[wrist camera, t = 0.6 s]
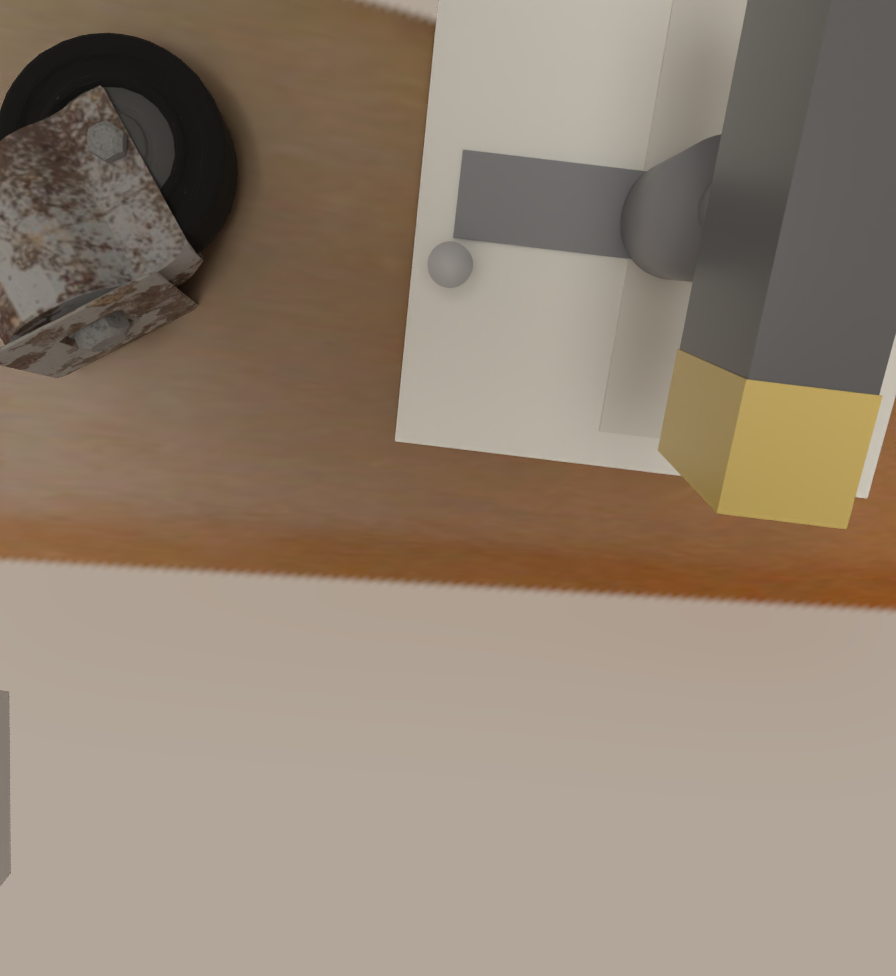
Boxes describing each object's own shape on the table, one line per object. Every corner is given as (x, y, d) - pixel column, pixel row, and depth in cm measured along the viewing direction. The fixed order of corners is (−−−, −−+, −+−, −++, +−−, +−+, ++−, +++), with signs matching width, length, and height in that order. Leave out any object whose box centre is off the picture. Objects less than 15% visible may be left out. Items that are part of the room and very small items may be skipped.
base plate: (450, -93, 29) (440, -219, 22) (990, -30, 29) (1172, -134, 21) (398, 433, 35) (375, 482, 27) (851, 488, 35) (956, 553, 27)
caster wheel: (187, 54, 33) (302, 269, 34) (-57, 176, 33) (65, 390, 34) (138, -45, 27) (281, 224, 27) (-169, 105, 26) (-15, 375, 27)
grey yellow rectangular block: (733, -62, 22) (886, -258, 14) (837, -50, 22) (1054, -239, 14) (640, 432, 26) (716, 513, 18) (728, 443, 26) (846, 529, 18)
